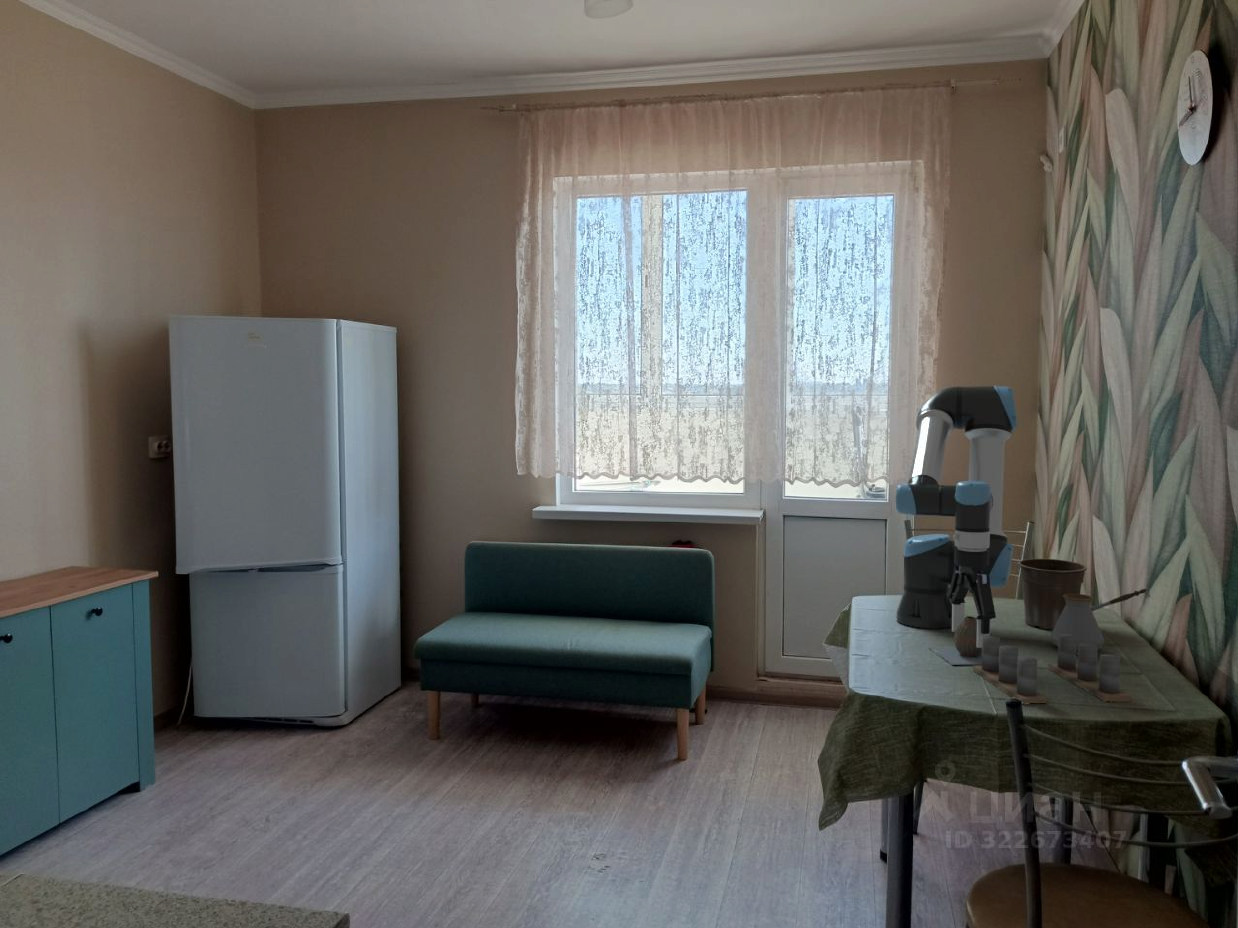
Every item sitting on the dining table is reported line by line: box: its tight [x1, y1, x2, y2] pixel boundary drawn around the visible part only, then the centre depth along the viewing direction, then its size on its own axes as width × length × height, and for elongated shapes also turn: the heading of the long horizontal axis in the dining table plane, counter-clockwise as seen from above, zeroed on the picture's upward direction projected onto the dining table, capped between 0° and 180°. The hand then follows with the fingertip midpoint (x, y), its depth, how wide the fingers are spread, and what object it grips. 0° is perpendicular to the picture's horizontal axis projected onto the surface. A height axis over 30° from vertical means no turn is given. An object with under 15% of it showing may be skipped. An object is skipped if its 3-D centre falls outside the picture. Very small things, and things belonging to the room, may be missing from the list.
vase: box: [953, 615, 982, 657], centre depth 216 cm, size 7×7×9 cm
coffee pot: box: [1049, 588, 1151, 653], centre depth 219 cm, size 21×12×15 cm, turn 81°
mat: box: [928, 645, 982, 666], centre depth 216 cm, size 14×14×1 cm
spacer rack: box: [972, 634, 1131, 705], centre depth 194 cm, size 22×22×8 cm
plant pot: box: [1018, 558, 1088, 631], centre depth 243 cm, size 16×16×16 cm
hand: (970, 639), depth 216 cm, fingers open, 13 cm apart
